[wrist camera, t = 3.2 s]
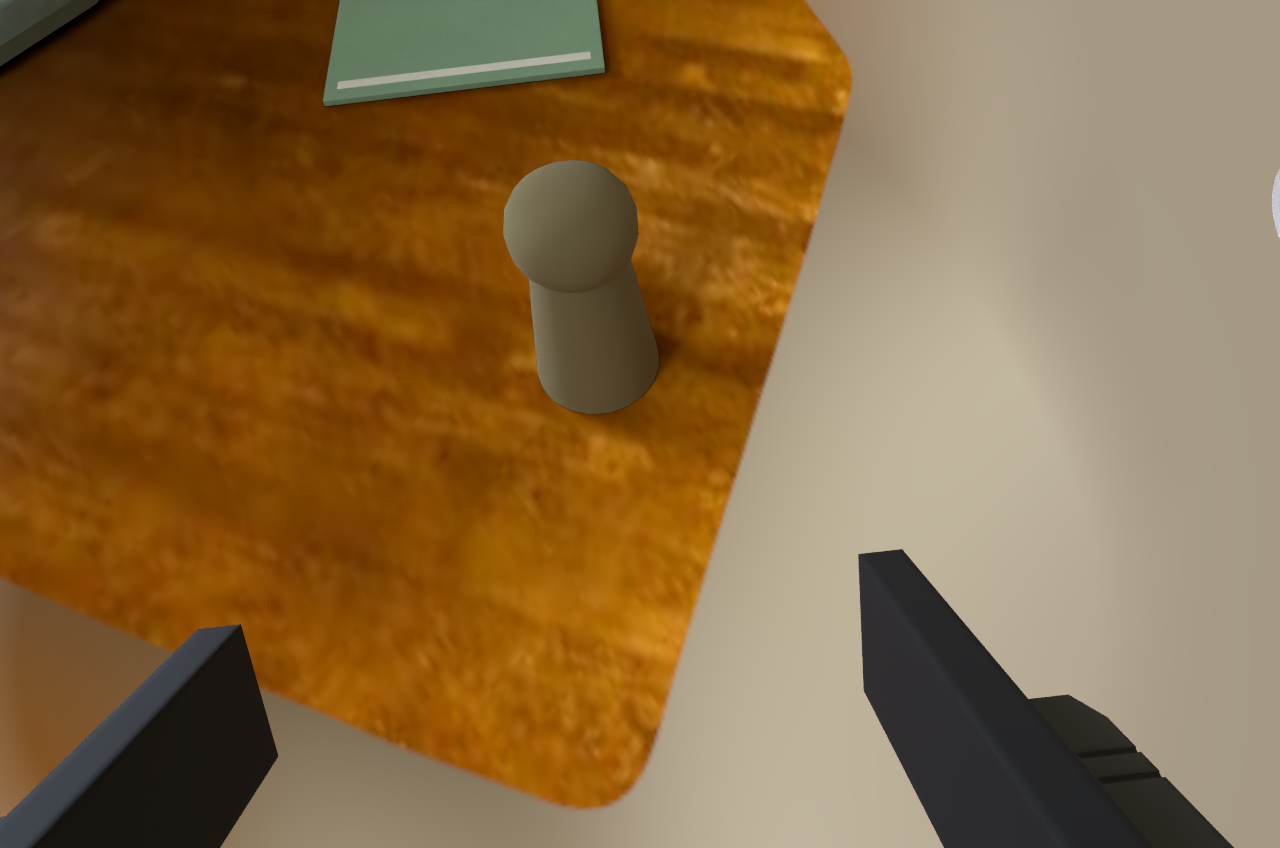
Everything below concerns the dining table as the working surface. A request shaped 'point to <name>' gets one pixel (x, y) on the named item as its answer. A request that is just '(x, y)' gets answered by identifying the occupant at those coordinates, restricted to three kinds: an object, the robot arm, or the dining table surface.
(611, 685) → the dining table surface
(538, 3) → the cloth
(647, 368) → the cork
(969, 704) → the robot arm
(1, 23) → the tea set
